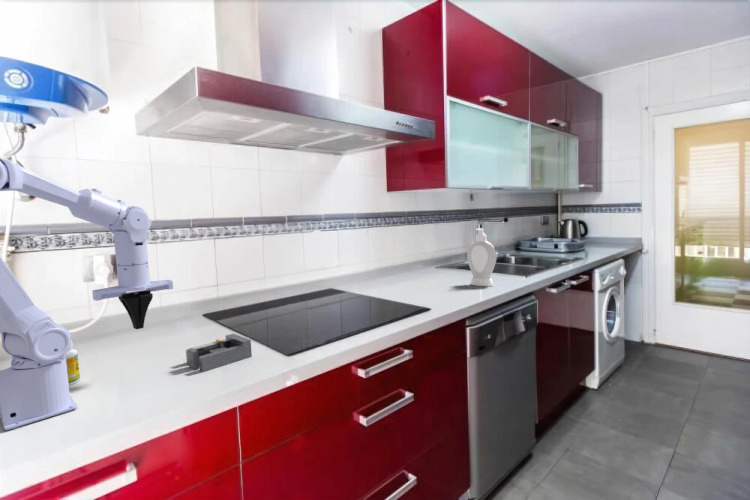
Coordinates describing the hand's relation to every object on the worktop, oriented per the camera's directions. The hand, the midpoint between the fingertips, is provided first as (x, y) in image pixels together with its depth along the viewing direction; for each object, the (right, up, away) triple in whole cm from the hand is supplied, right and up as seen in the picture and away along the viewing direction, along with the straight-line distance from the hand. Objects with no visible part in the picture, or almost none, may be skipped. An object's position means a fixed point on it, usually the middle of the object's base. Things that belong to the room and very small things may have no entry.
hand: (138, 327), depth 85 cm
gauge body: (+14, -9, +7) cm, 18 cm away
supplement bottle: (-13, -11, -3) cm, 17 cm away
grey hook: (+12, -9, +6) cm, 16 cm away
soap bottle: (+95, +1, +86) cm, 128 cm away
